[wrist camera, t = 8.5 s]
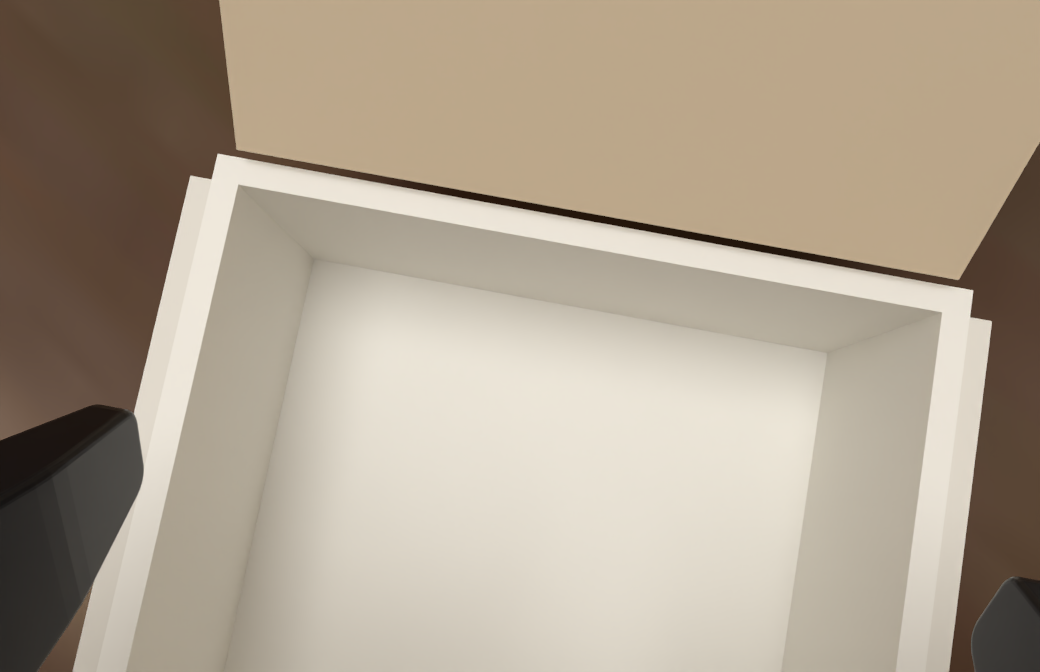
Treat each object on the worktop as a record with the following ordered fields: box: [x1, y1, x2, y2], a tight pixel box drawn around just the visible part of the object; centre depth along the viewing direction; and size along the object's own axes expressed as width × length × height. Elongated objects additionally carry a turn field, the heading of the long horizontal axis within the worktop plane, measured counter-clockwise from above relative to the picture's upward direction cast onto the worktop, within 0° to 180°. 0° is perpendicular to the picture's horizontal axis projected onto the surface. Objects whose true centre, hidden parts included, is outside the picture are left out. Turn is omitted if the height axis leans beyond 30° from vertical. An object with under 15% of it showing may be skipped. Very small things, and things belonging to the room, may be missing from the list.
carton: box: [73, 154, 992, 672], centre depth 20 cm, size 16×15×7 cm
